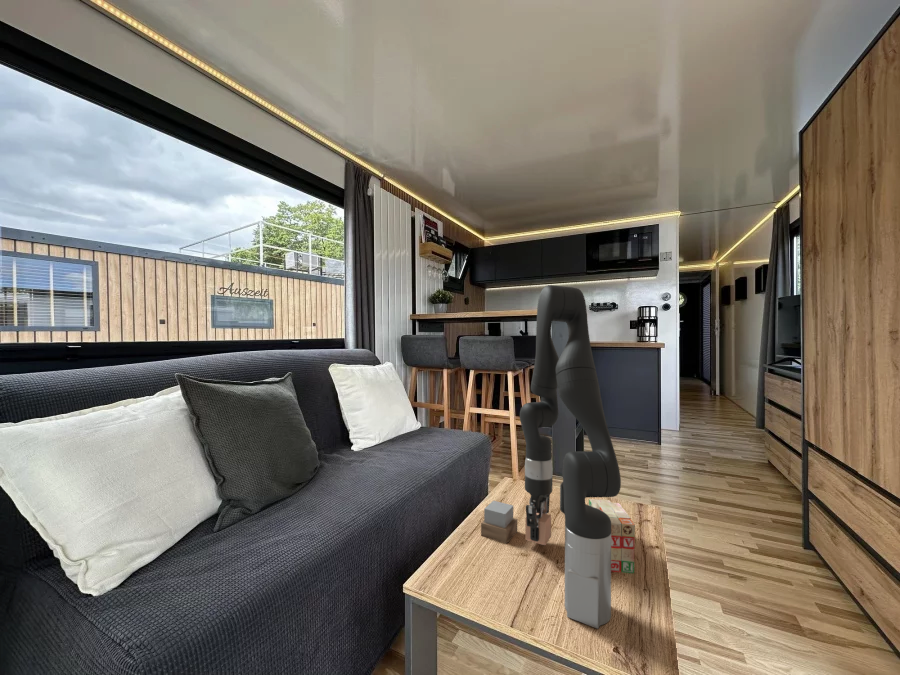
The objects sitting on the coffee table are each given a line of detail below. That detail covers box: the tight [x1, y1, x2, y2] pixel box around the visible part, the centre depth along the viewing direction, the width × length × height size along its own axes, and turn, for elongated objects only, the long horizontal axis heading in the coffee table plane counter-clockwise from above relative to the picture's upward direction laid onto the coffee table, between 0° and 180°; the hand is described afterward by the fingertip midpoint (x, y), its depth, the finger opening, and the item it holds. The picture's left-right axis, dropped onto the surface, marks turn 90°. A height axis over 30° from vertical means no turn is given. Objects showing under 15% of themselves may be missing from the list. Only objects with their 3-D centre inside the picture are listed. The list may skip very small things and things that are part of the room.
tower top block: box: [483, 500, 514, 528], centre depth 111 cm, size 6×6×4 cm
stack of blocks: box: [588, 498, 636, 574], centre depth 103 cm, size 21×6×12 cm, turn 172°
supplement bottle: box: [559, 481, 565, 515], centre depth 125 cm, size 7×7×12 cm
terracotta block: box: [524, 513, 552, 546], centre depth 104 cm, size 6×6×6 cm
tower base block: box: [480, 517, 518, 544], centre depth 111 cm, size 8×8×4 cm
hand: (538, 535), depth 104 cm, fingers closed on terracotta block, 5 cm apart
